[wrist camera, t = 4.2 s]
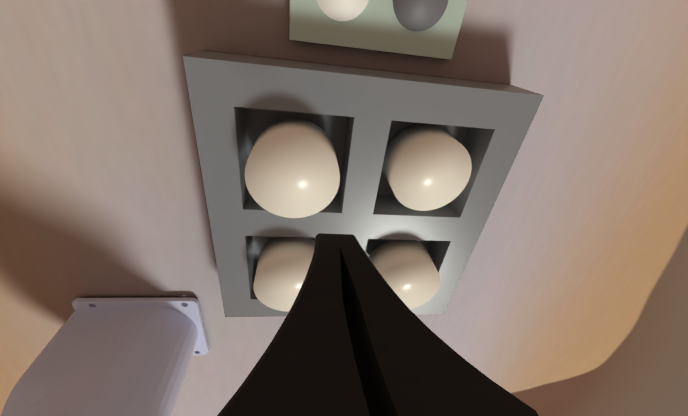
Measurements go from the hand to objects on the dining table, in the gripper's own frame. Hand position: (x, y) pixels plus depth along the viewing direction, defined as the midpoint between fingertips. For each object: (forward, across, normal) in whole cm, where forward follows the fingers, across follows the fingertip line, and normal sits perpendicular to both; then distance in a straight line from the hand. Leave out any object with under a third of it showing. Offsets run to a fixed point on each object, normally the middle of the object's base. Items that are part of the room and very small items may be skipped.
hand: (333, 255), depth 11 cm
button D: (+8, +2, +8) cm, 11 cm away
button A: (+9, -6, 0) cm, 11 cm away
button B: (+8, +2, 0) cm, 8 cm away
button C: (+8, -6, +8) cm, 13 cm away
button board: (+10, -2, +4) cm, 11 cm away
